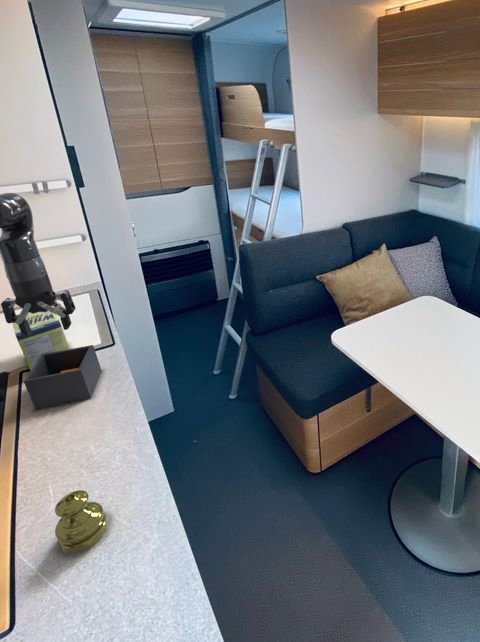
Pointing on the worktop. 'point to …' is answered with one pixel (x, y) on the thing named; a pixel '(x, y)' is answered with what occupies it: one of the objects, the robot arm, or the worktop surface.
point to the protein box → (41, 336)
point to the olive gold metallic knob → (79, 522)
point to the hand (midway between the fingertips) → (48, 331)
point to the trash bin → (63, 377)
